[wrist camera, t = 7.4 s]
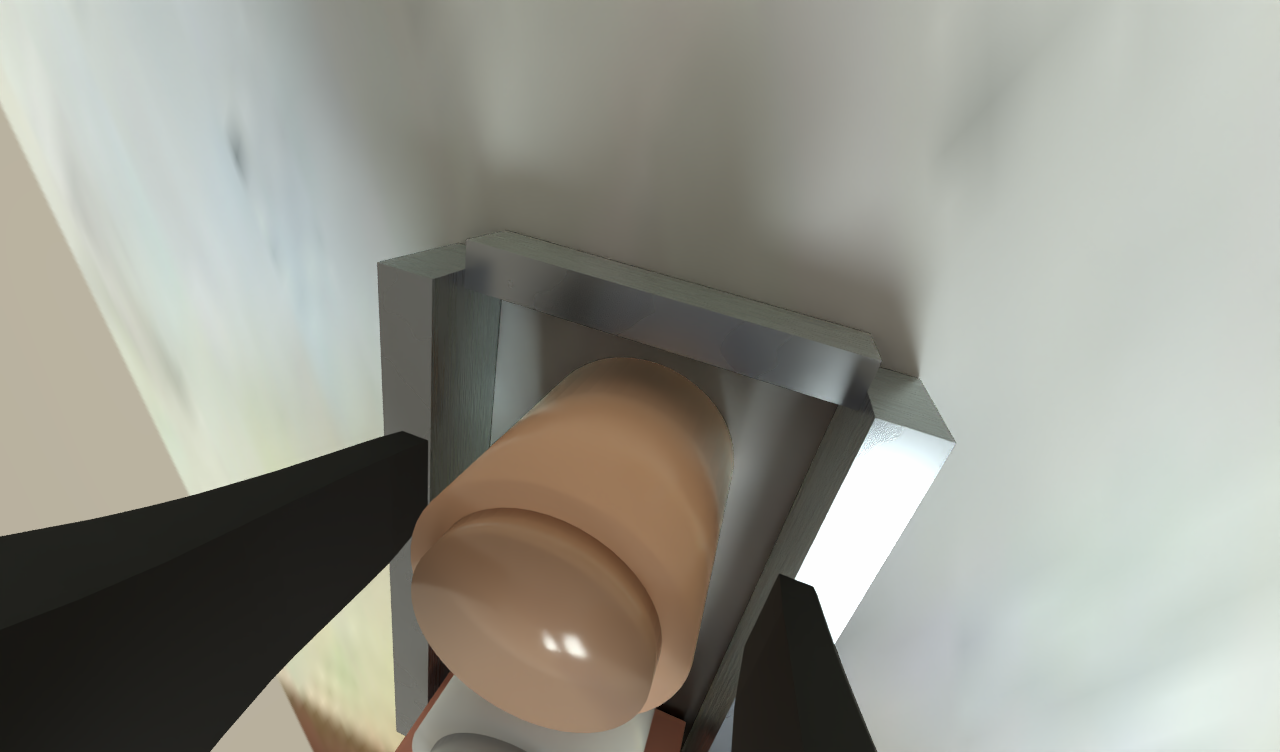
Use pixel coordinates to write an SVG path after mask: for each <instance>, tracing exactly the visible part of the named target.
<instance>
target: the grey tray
mask: <svg viewBox="0 0 1280 752" xmlns="http://www.w3.org/2000/svg"><path fill="white" fill-rule="evenodd" d="M377 269H378V294H379V318H380V342H381V366H382V391H383V415H384V436H386V435H389V434H393V433H396V432H400V431H405V432H407V433H410V434H413V435H415V436H418V437H421V438H423V439H426V440H428V505H429V503H430V502H431V501H432V500H433V499H434V498H435V497H437V496H438V495H439V494H440V493H441V492H442V491H443V490H444V489H445V488H446V487H447V486H448V485H450V484H451V483H452V482H453V481H454V480H455V479H456V478H457V477H458V476H459V475H460V474H461V473H463V472H464V471H465V470H466V469H467V468H468V467H469V466H470V465H471V464H472V463H473V462H474V461H476V460H477V459H478V458H479V457H480V456H481V455H482V454H483V453H484V452H485V451H486V450H487V449H489V446H490V433H491V420H492V407H493V395H494V382H495V369H496V356H497V343H498V330H499V318H500V305H501V300H505V301H508V302H511V303H514V304H517V305H521V306H524V307H527V308H530V309H534V310H537V311H540V312H543V313H546V314H550V315H553V316H556V317H559V318H562V319H566V320H569V321H572V322H575V323H578V324H582V325H585V326H588V327H591V328H594V329H598V330H601V331H604V332H607V333H610V334H614V335H617V336H620V337H623V338H626V339H630V340H633V341H636V342H639V343H643V344H646V345H649V346H652V347H655V348H659V349H662V350H665V351H668V352H671V353H675V354H678V355H681V356H684V357H687V358H691V359H694V360H697V361H700V362H703V363H707V364H710V365H713V366H716V367H719V368H723V369H726V370H729V371H732V372H735V373H739V374H742V375H745V376H748V377H752V378H755V379H758V380H761V381H764V382H768V383H771V384H774V385H777V386H780V387H784V388H787V389H790V390H793V391H796V392H800V393H803V394H806V395H809V396H812V397H816V398H819V399H822V400H825V401H828V402H832V403H835V404H838V406H837V408H836V411H835V413H834V415H833V417H832V420H831V422H830V424H829V426H828V428H827V431H826V433H825V435H824V437H823V439H822V442H821V444H820V446H819V448H818V450H817V453H816V455H815V457H814V459H813V461H812V464H811V466H810V468H809V470H808V472H807V475H806V477H805V479H804V481H803V484H802V486H801V488H800V490H799V492H798V495H797V497H796V499H795V501H794V503H793V506H792V508H791V510H790V512H789V514H788V517H787V519H786V521H785V523H784V525H783V528H782V530H781V532H780V534H779V536H778V539H777V541H776V543H775V545H774V548H773V550H772V552H771V554H770V556H769V559H768V561H767V563H766V565H765V567H764V570H763V572H762V574H761V576H760V578H759V581H758V583H757V585H756V587H755V589H754V592H753V594H752V596H751V598H750V600H749V603H748V605H747V607H746V609H745V611H744V614H743V616H742V618H741V620H740V623H739V625H738V627H737V629H736V631H735V634H734V636H733V638H732V640H731V642H730V645H729V647H728V649H727V651H726V653H725V656H724V658H723V660H722V662H721V664H720V667H719V669H718V671H717V673H716V675H715V678H714V680H713V682H712V684H711V687H710V689H709V691H708V693H707V695H706V698H705V700H704V702H703V704H702V706H701V709H700V711H699V713H698V715H697V717H696V720H695V722H694V724H693V726H692V728H691V731H690V733H689V735H688V737H687V739H686V742H685V744H684V746H683V748H682V751H681V752H731V746H732V732H733V717H734V705H735V699H736V692H737V686H738V680H739V674H740V669H741V663H742V657H743V652H744V646H745V644H746V642H747V640H748V637H749V635H750V633H751V631H752V629H753V627H754V625H755V623H756V621H757V619H758V616H759V614H760V612H761V610H762V608H763V606H764V604H765V602H766V600H767V598H768V595H769V593H770V591H771V589H772V587H773V585H774V583H775V581H776V579H777V577H778V574H779V573H780V574H782V575H785V576H787V577H790V578H793V579H795V580H798V581H801V582H803V583H806V584H809V585H811V586H814V588H815V590H816V592H817V594H818V597H819V600H820V603H821V606H822V609H823V612H824V615H825V618H826V621H827V624H828V627H829V630H830V633H831V636H832V638H833V641H834V644H835V642H836V640H837V639H838V637H839V636H840V634H841V632H842V631H843V629H844V627H845V626H846V624H847V622H848V621H849V619H850V617H851V616H852V614H853V612H854V611H855V609H856V608H857V606H858V604H859V603H860V601H861V599H862V598H863V596H864V594H865V593H866V591H867V589H868V588H869V586H870V584H871V583H872V581H873V580H874V578H875V576H876V575H877V573H878V571H879V570H880V568H881V566H882V565H883V563H884V561H885V560H886V558H887V556H888V555H889V553H890V551H891V550H892V548H893V547H894V545H895V543H896V542H897V540H898V538H899V537H900V535H901V533H902V532H903V530H904V528H905V527H906V525H907V523H908V522H909V520H910V519H911V517H912V515H913V514H914V512H915V510H916V509H917V507H918V505H919V504H920V502H921V500H922V499H923V497H924V495H925V494H926V492H927V491H928V489H929V487H930V486H931V484H932V482H933V481H934V479H935V477H936V476H937V474H938V472H939V471H940V469H941V467H942V466H943V464H944V462H945V461H946V459H947V458H948V456H949V454H950V453H951V451H952V449H953V448H954V446H955V444H956V442H955V440H954V438H953V437H952V435H951V433H950V431H949V429H948V428H947V426H946V424H945V422H944V421H943V419H942V417H941V415H940V414H939V412H938V410H937V408H936V406H935V405H934V403H933V401H932V399H931V398H930V396H929V394H928V392H927V390H926V389H925V387H924V385H923V383H922V382H921V380H920V379H918V378H915V377H912V376H908V375H905V374H901V373H898V372H895V371H891V370H888V369H885V368H881V367H879V366H880V364H881V362H882V360H881V357H880V355H879V352H878V350H877V348H876V345H875V343H874V341H873V338H872V336H871V334H870V333H867V332H863V331H860V330H856V329H853V328H849V327H846V326H842V325H839V324H835V323H832V322H828V321H824V320H821V319H817V318H814V317H810V316H807V315H803V314H800V313H796V312H793V311H789V310H786V309H782V308H779V307H775V306H772V305H768V304H765V303H761V302H758V301H754V300H751V299H747V298H743V297H740V296H736V295H733V294H729V293H726V292H722V291H719V290H715V289H712V288H708V287H705V286H701V285H698V284H694V283H691V282H687V281H684V280H680V279H677V278H673V277H669V276H666V275H662V274H659V273H655V272H652V271H648V270H645V269H641V268H638V267H634V266H631V265H627V264H624V263H620V262H617V261H613V260H610V259H606V258H603V257H599V256H596V255H592V254H588V253H585V252H581V251H578V250H574V249H571V248H567V247H564V246H560V245H557V244H553V243H550V242H546V241H543V240H539V239H536V238H532V237H529V236H525V235H522V234H518V233H514V232H511V231H507V230H505V231H501V232H496V233H492V234H488V235H483V236H479V237H474V238H470V239H466V245H463V244H460V243H457V244H452V245H448V246H444V247H440V248H435V249H431V250H427V251H423V252H418V253H414V254H410V255H406V256H401V257H397V258H393V259H389V260H384V261H380V262H377ZM411 540H412V537H411V538H410V539H409V541H408V542H407V543H406V544H405V545H404V547H403V548H402V549H401V550H400V551H399V553H398V554H397V555H396V556H395V557H394V559H393V560H392V561H391V562H390V585H391V609H392V633H393V658H394V682H395V706H396V730H397V732H399V733H401V734H403V735H405V736H406V735H407V733H408V732H409V730H410V729H411V728H412V726H413V725H414V723H415V722H416V720H417V719H418V717H419V716H420V714H421V713H422V711H423V710H424V709H425V707H426V706H427V704H428V703H429V701H430V700H431V698H432V697H433V695H434V694H435V693H436V691H437V690H438V688H439V687H440V685H441V684H442V682H443V681H444V679H445V678H446V676H447V675H448V674H449V672H450V670H449V669H448V668H447V667H446V665H445V664H444V663H443V662H442V661H441V660H440V658H439V657H438V656H437V655H436V653H435V652H434V650H433V649H432V648H431V646H430V645H429V643H428V641H427V640H426V638H425V636H424V635H423V633H422V631H421V628H420V626H419V624H418V622H417V619H416V616H415V613H414V610H413V604H412V599H411V584H412V577H413V570H412V565H411Z"/></svg>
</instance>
